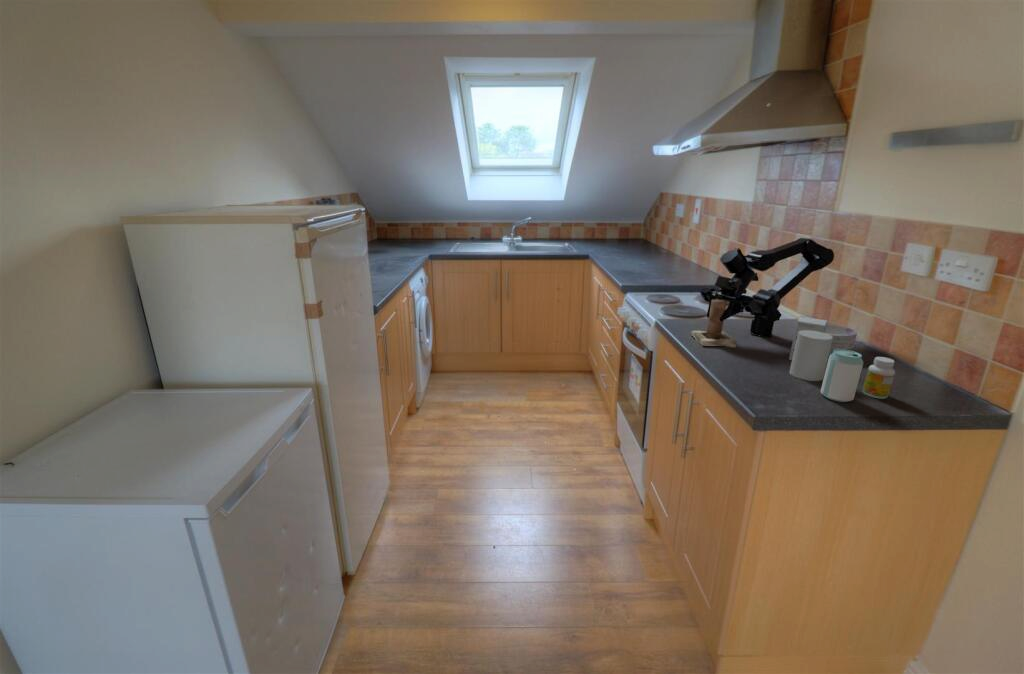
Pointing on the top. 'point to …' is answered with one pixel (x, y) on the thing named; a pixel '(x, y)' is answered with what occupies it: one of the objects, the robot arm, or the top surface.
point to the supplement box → (807, 324)
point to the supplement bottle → (879, 378)
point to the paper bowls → (840, 337)
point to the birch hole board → (723, 341)
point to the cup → (810, 355)
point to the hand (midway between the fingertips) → (713, 318)
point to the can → (842, 375)
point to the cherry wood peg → (715, 319)
